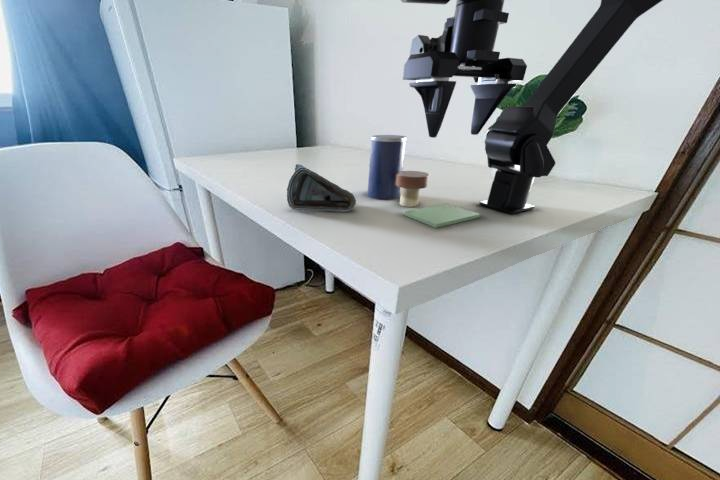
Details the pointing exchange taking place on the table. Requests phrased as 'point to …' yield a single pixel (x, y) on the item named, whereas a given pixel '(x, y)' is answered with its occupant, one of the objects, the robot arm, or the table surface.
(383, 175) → the can
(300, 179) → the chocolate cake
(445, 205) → the napkin
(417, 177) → the mushroom
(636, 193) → the table surface
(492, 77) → the robot arm
